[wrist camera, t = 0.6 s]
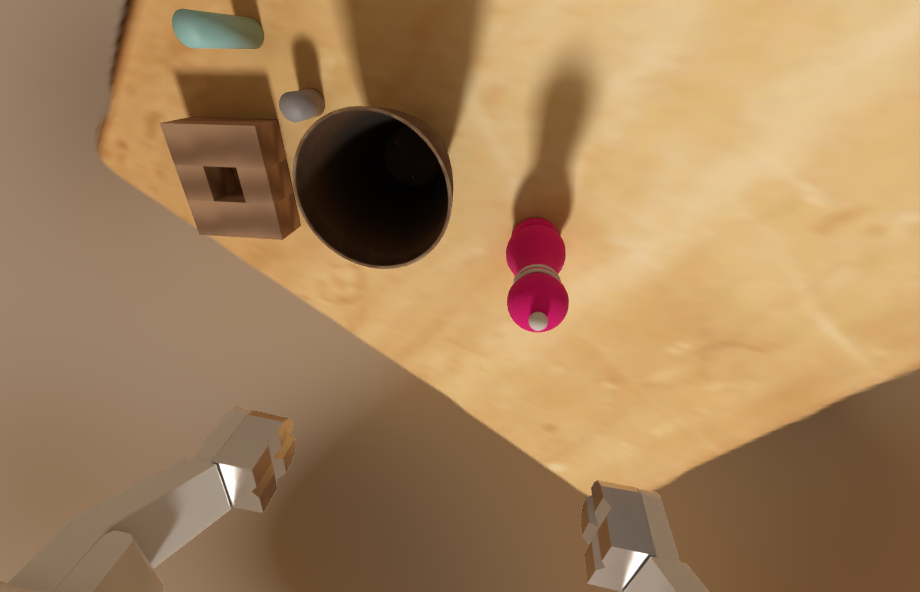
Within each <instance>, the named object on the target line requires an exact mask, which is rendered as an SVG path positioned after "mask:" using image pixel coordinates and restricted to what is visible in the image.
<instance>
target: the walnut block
mask: <svg viewBox="0 0 920 592" xmlns="http://www.w3.org/2000/svg"><path fill="white" fill-rule="evenodd" d="M160 125H161V128H162V131H163V133H164V136H165V139H166V142H167V145H168V147H169V150H170V153H171V156H172V159H173V161H174V164H175V167H176V170H177V173H178V175H179V178H180V181H181V184H182V187H183V189H184V192H185V195H186V198H187V201H188V203H189V206H190V209H191V212H192V215H193V217H194V220H195V223H196V226H197V229H198V231H199V234H201V235H215V236H231V237H247V238H263V239H278V240H283V239H284V238H286V237H287V236H288V235H289V234H291V233H292V232H293V231H295V230H296V229H297V228H299V227H300V226H301V225H300V221H299V216H298V211H297V207H296V202H295V197H294V193H293V188H292V183H291V179H290V174H289V169H288V165H287V160H286V155H285V151H284V146H283V141H282V137H281V132H280V127H279V123H278V120H274V119H235V118H196V117H189V118H184V119H179V120H174V121H169V122H163V123H160ZM231 167H234V168H236V169H237V173H238V176H239V180H240V184H241V187H242V190H238V188H237V185H236V181H235V178H234V175H233V171H232V168H231Z"/></svg>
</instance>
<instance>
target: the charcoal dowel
mask: <svg viewBox="0 0 920 592" xmlns="http://www.w3.org/2000/svg"><path fill="white" fill-rule="evenodd" d="M279 106H280V110H281V112H282V114H283V115H284V117H285V118H287V119H288V120H290V121H292V122H299V121H302V120H306V119H309V118H312V117H316V116H319V115H321V114H322V113H323V111H324V109H325V101H324V99H323V97H322V95H321V94H320V93H319V92H318V91H317V90H315V89H304V90H298V91H292V92H287V93H284V94H283V95H282V96H281V98H280V101H279Z"/></svg>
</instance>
